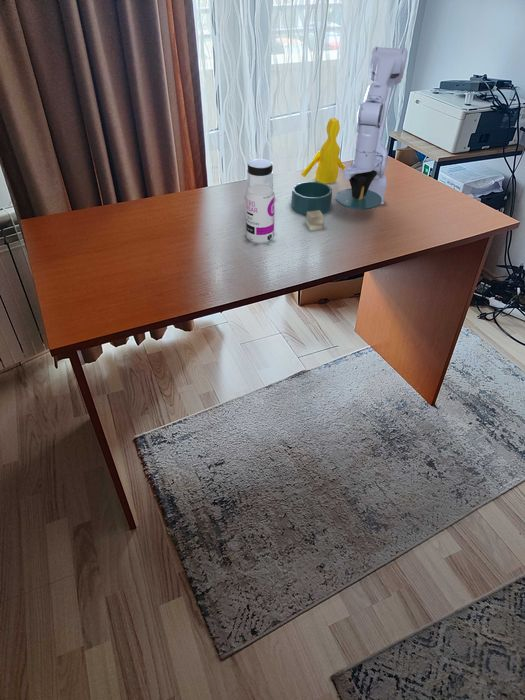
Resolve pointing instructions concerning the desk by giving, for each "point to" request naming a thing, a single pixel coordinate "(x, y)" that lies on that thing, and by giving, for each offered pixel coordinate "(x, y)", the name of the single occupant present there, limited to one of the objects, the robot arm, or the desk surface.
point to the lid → (362, 203)
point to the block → (314, 220)
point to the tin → (311, 197)
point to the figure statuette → (327, 156)
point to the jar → (260, 172)
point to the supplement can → (260, 213)
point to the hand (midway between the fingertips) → (358, 196)
